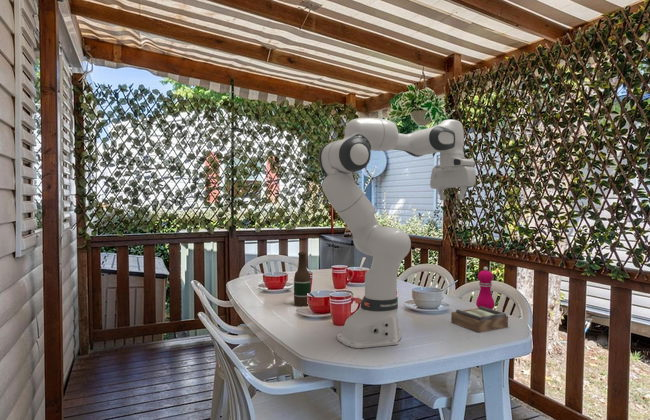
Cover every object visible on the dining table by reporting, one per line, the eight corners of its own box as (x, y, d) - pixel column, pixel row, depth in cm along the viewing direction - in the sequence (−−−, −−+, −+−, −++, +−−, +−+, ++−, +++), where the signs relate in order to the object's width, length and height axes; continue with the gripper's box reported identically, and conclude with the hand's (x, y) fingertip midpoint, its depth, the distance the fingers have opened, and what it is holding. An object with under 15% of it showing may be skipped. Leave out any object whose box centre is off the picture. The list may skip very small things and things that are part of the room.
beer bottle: (304, 307, 195) (304, 253, 194) (290, 305, 199) (290, 252, 198) (314, 304, 201) (314, 251, 201) (300, 301, 206) (300, 250, 205)
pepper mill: (495, 317, 179) (496, 268, 178) (477, 316, 180) (477, 267, 180) (492, 312, 186) (493, 265, 185) (474, 311, 187) (475, 265, 187)
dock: (478, 332, 159) (478, 318, 159) (451, 322, 172) (451, 309, 172) (507, 326, 166) (508, 313, 166) (479, 317, 179) (480, 305, 178)
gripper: (426, 165, 174) (426, 200, 174) (466, 159, 156) (466, 198, 156) (438, 166, 177) (438, 200, 177) (478, 160, 160) (478, 199, 159)
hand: (451, 199), depth 167 cm, fingers open, 8 cm apart
